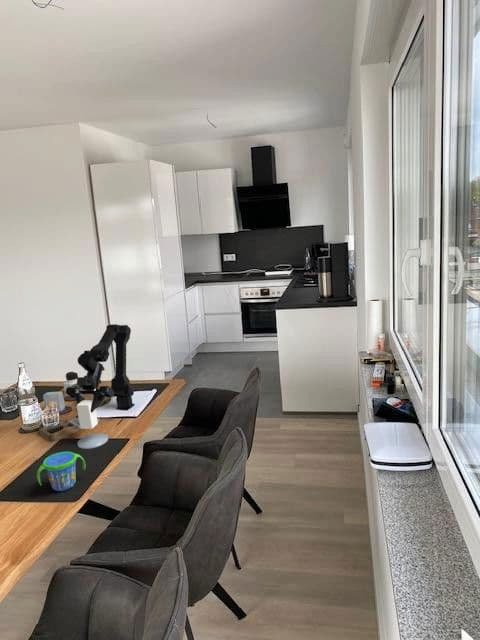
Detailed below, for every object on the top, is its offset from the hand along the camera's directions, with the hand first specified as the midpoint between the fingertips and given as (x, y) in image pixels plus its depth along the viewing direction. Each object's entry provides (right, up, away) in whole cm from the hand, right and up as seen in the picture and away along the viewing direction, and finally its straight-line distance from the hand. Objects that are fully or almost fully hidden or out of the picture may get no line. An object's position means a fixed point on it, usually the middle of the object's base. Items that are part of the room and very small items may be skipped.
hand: (85, 412), depth 193 cm
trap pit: (-8, -9, +23) cm, 26 cm away
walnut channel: (-17, -12, +15) cm, 25 cm away
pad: (+2, -13, +4) cm, 14 cm away
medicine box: (-27, -7, +41) cm, 50 cm away
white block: (+1, -6, +3) cm, 7 cm away
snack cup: (+2, -20, -27) cm, 34 cm away
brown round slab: (-10, -4, +48) cm, 49 cm away
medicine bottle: (-25, -2, +61) cm, 66 cm away
